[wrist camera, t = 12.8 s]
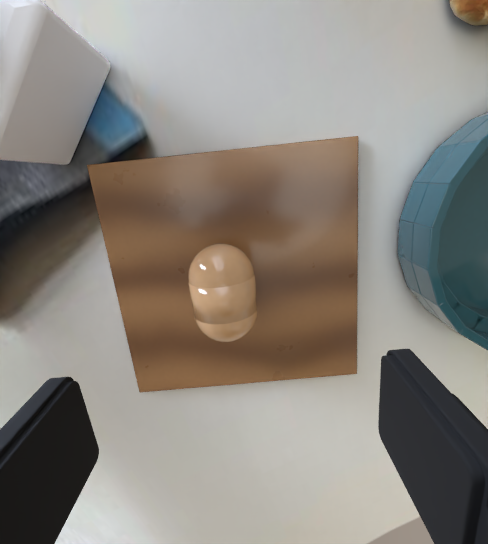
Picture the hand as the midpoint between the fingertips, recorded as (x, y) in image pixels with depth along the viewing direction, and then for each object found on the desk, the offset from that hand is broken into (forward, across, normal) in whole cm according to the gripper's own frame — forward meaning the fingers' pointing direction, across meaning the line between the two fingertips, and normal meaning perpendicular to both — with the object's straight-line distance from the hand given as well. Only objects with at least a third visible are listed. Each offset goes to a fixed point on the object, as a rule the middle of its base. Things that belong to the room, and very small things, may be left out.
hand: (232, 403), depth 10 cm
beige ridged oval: (+14, 0, +1) cm, 14 cm away
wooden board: (+14, 0, +1) cm, 14 cm away
